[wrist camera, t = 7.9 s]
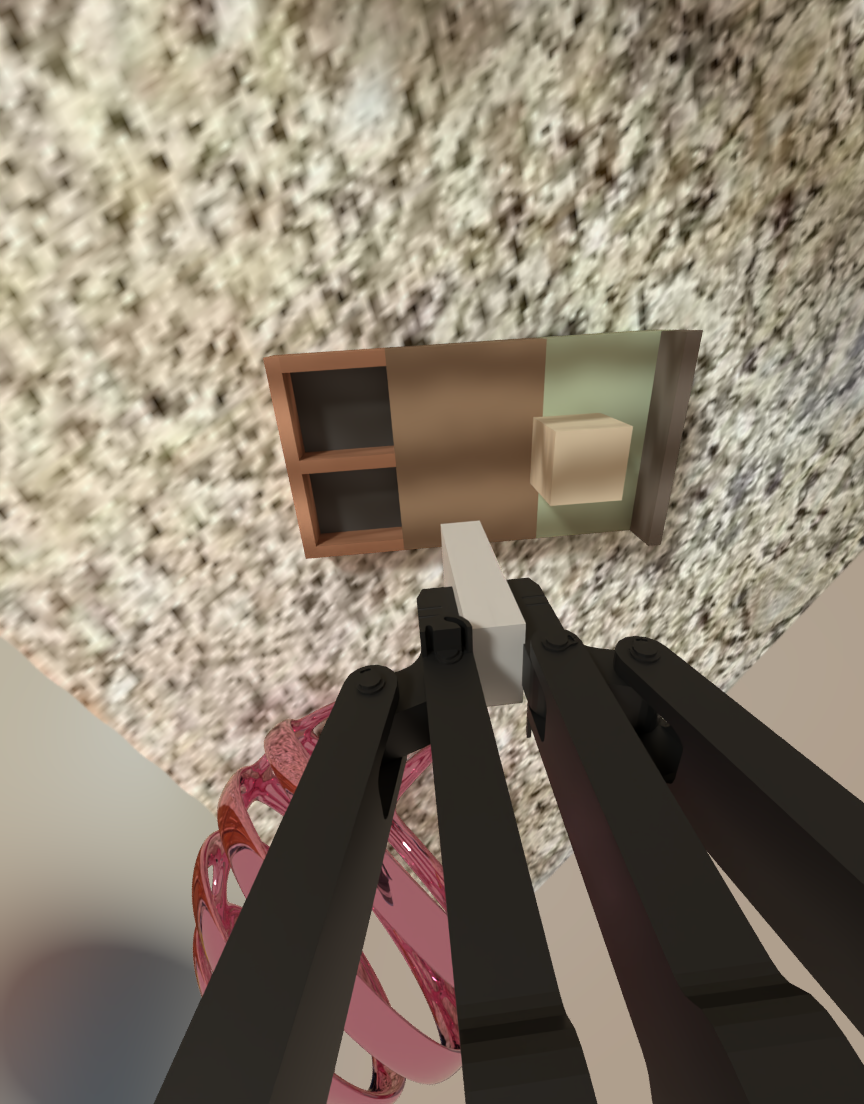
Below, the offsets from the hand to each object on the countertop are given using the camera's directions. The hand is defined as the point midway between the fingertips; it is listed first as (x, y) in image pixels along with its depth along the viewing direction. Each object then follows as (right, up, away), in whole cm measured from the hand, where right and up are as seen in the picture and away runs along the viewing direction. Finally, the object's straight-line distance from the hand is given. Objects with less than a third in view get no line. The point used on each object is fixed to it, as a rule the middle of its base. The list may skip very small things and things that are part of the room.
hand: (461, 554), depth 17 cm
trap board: (+2, +9, +19) cm, 21 cm away
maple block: (+9, +8, +16) cm, 20 cm away
